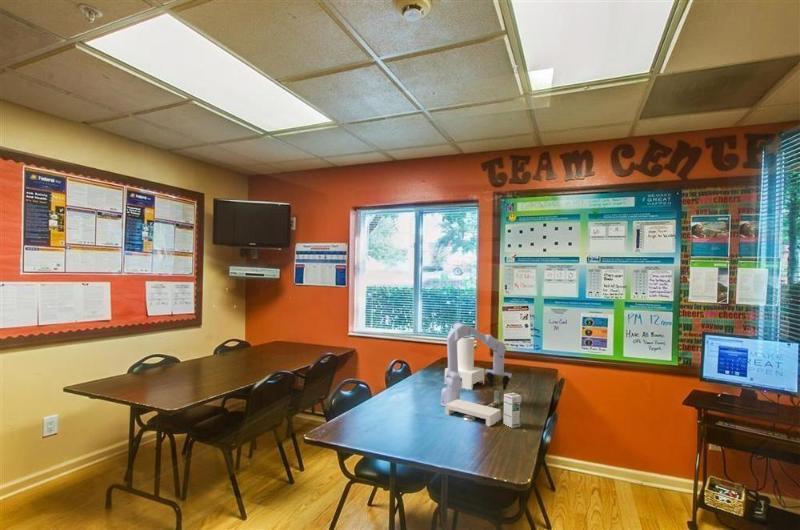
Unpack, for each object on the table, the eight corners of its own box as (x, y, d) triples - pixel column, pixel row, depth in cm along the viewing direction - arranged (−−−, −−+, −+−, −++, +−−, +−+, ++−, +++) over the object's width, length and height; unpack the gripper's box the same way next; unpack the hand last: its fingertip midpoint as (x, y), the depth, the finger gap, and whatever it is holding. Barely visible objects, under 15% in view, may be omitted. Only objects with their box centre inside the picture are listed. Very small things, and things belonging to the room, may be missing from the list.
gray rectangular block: (493, 401, 226) (493, 389, 226) (503, 404, 223) (504, 391, 223) (475, 411, 209) (475, 397, 209) (486, 414, 206) (486, 400, 206)
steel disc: (460, 419, 197) (460, 417, 197) (466, 416, 201) (466, 414, 201) (471, 423, 193) (471, 420, 193) (477, 419, 198) (477, 417, 198)
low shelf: (445, 414, 203) (445, 404, 203) (457, 408, 212) (457, 399, 213) (489, 426, 188) (490, 415, 188) (500, 419, 198) (500, 409, 198)
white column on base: (458, 378, 275) (459, 334, 275) (484, 384, 264) (485, 337, 264) (444, 384, 260) (445, 337, 260) (471, 390, 249) (472, 340, 249)
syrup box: (511, 428, 187) (512, 396, 187) (502, 424, 192) (503, 393, 193) (520, 426, 190) (521, 395, 190) (512, 422, 195) (512, 391, 195)
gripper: (514, 364, 222) (513, 389, 222) (489, 360, 231) (488, 384, 231) (508, 366, 217) (508, 392, 217) (483, 362, 226) (483, 386, 225)
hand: (497, 388), depth 223 cm, fingers open, 7 cm apart
